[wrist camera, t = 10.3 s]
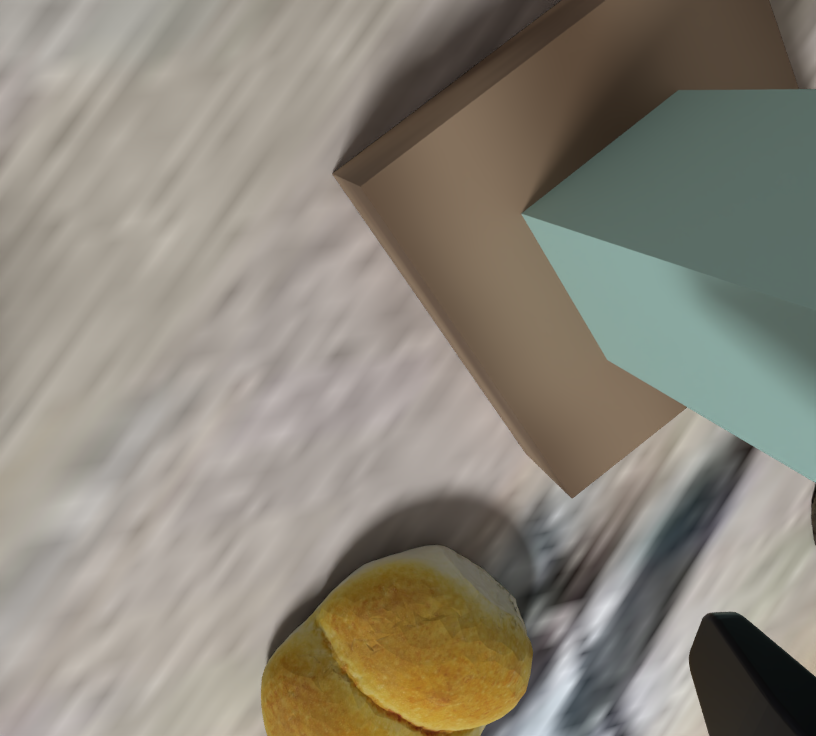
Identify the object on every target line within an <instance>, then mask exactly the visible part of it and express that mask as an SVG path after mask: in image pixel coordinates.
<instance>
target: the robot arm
mask: <svg viewBox="0 0 816 736" xmlns="http://www.w3.org/2000/svg"><path fill="white" fill-rule="evenodd" d="M689 666H690V671H691V675H692V678H693V682H694V685H695V688H696V692H697V695H698V699H699V702H700V706H701V709H702V712H703V716H704V719H705V723H706V726H707V729H708V733H709V736H816V677H815V676H814V675H813V674H812V673H810V672H809V671H808V670H807V669H806V668H804V667H803V666H802V665H801V664H800V663H798V662H797V661H796V660H795V659H794V658H793V657H791V656H790V655H789V654H788V653H787V652H785V651H784V650H783V649H782V648H781V647H779V646H778V645H777V644H776V643H775V642H773V641H772V640H771V639H770V638H769V637H767V636H766V635H765V634H764V633H763V632H762V631H760V630H759V629H758V628H757V627H756V626H754V625H753V624H752V623H751V622H750V621H748V620H747V619H746V618H745V617H743V616H742V615H740V614H738V613H736V612H716V613H708V614H706V615H705V616H704V617H703V619H702V621H701V624H700V626H699V629H698V631H697V634H696V637H695V639H694V642H693V645H692V647H691V650H690V654H689Z"/></svg>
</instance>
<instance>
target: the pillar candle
mask: <svg viewBox="0 0 816 736" xmlns="http://www.w3.org/2000/svg"><path fill="white" fill-rule="evenodd" d="M811 516H812V526H813V534H814V541H815V545H816V494H815V497H814V499H813V504H812V515H811Z"/></svg>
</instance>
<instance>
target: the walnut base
mask: <svg viewBox="0 0 816 736" xmlns="http://www.w3.org/2000/svg"><path fill="white" fill-rule="evenodd" d="M767 89H799V87H798V85H797V82H796V79H795V76H794V73H793V70H792V67H791V64H790V61H789V58H788V55H787V52H786V49H785V46H784V43H783V40H782V37H781V34H780V31H779V28H778V25H777V22H776V19H775V16H774V14H773V11H772V8H771V5H770V2H769V0H561V1H560V2H559V3H557V4H556V5H555V6H553V7H552V8H551V9H549V10H548V11H547V12H545V13H544V14H543V15H541V16H540V17H539V18H538V19H536V20H535V21H534V22H532V23H531V24H530V25H528V26H527V27H526V28H524V29H523V30H522V31H520V32H519V33H518V34H516V35H515V36H514V37H512V38H511V39H510V40H508V41H507V42H506V43H504V44H503V45H502V46H501V47H499V48H498V49H497V50H495V51H494V52H493V53H491V54H490V55H489V56H487V57H486V58H485V59H483V60H482V61H481V62H479V63H478V64H477V65H475V66H474V67H473V68H471V69H470V70H469V71H467V72H466V73H465V74H463V75H462V76H461V77H460V78H458V79H457V80H456V81H454V82H453V83H452V84H450V85H449V86H448V87H446V88H445V89H444V90H442V91H441V92H440V93H438V94H437V95H436V96H434V97H433V98H432V99H430V100H429V101H428V102H426V103H425V104H424V105H423V106H421V107H420V108H419V109H417V110H416V111H415V112H413V113H412V114H411V115H409V116H408V117H407V118H405V119H404V120H403V121H401V122H400V123H399V124H397V125H396V126H395V127H393V128H392V129H391V130H389V131H388V132H387V133H385V134H384V135H383V136H382V137H380V138H379V139H378V140H376V141H375V142H374V143H372V144H371V145H370V146H368V147H367V148H366V149H364V150H363V151H362V152H360V153H359V154H358V155H356V156H355V157H354V158H352V159H351V160H350V161H348V162H347V163H346V164H344V165H343V166H342V167H341V168H339V169H338V170H337V171H335V172H334V173H333V176H334V177H335V179H336V180H337V182H338V183H339V184H340V186H341V187H342V189H343V190H344V192H345V193H346V195H347V196H348V197H349V199H350V200H351V202H352V203H353V205H354V206H355V208H356V209H357V210H358V212H359V213H360V215H361V216H362V218H363V219H364V221H365V222H366V223H367V225H368V226H369V228H370V229H371V231H372V232H373V234H374V235H375V236H376V238H377V239H378V241H379V242H380V244H381V245H382V247H383V248H384V249H385V251H386V252H387V254H388V255H389V257H390V258H391V260H392V261H393V262H394V264H395V265H396V267H397V268H398V270H399V271H400V272H401V274H402V275H403V277H404V278H405V280H406V281H407V283H408V284H409V285H410V287H411V288H412V290H413V291H414V293H415V294H416V296H417V297H418V298H419V300H420V301H421V303H422V304H423V306H424V307H425V309H426V310H427V311H428V313H429V314H430V316H431V317H432V319H433V320H434V322H435V323H436V324H437V326H438V327H439V329H440V330H441V332H442V333H443V335H444V336H445V337H446V339H447V340H448V342H449V343H450V345H451V346H452V348H453V349H454V350H455V352H456V353H457V355H458V356H459V358H460V359H461V361H462V362H463V363H464V365H465V366H466V368H467V369H468V371H469V372H470V374H471V375H472V376H473V378H474V379H475V381H476V382H477V384H478V385H479V387H480V388H481V389H482V391H483V392H484V394H485V395H486V397H487V398H488V400H489V401H490V402H491V404H492V405H493V407H494V408H495V410H496V411H497V413H498V414H499V415H500V417H501V418H502V420H503V421H504V423H505V424H506V426H507V427H508V428H509V430H510V431H511V433H512V434H513V436H514V437H515V439H516V440H517V441H518V443H519V444H520V446H521V447H522V449H523V450H524V452H525V453H526V454H527V455H528V456H529V457H530V458H531V459H532V460H533V461H534V462H535V463H536V464H537V465H538V466H539V467H540V468H541V469H542V470H543V471H544V472H545V473H546V474H547V475H548V476H549V477H550V478H551V479H552V480H553V481H554V482H555V483H556V484H557V485H559V486H560V487H561V488H562V489H563V490H564V491H565V492H566V493H567V494H568V495H569V496H570V497H571V498H574V497H575V496H576V495H577V494H579V493H580V492H581V491H582V490H584V489H585V488H586V487H587V486H589V485H590V484H591V483H592V482H594V481H595V480H596V479H598V478H599V477H600V476H601V475H603V474H604V473H605V472H606V471H608V470H609V469H610V468H611V467H613V466H614V465H615V464H616V463H618V462H619V461H620V460H621V459H623V458H624V457H625V456H627V455H628V454H629V453H630V452H632V451H633V450H634V449H635V448H637V447H638V446H639V445H640V444H642V443H643V442H644V441H645V440H647V439H648V438H649V437H650V436H652V435H653V434H654V433H656V432H657V431H658V430H659V429H661V428H662V427H663V426H664V425H666V424H667V423H668V422H669V421H671V420H672V419H673V418H674V417H676V416H677V415H678V414H679V413H681V412H682V411H683V410H685V409H686V408H687V407H686V406H684V405H683V404H681V403H679V402H678V401H676V400H674V399H673V398H671V397H669V396H667V395H666V394H664V393H662V392H661V391H659V390H657V389H656V388H654V387H652V386H651V385H649V384H647V383H645V382H644V381H642V380H640V379H639V378H637V377H635V376H634V375H632V374H630V373H628V372H627V371H625V370H623V369H622V368H620V367H618V366H617V365H615V364H613V363H612V362H610V361H608V360H607V359H606V357H605V355H604V353H603V352H602V350H601V348H600V347H599V345H598V343H597V342H596V340H595V338H594V337H593V335H592V333H591V331H590V330H589V328H588V326H587V325H586V323H585V321H584V320H583V318H582V316H581V314H580V313H579V311H578V309H577V308H576V306H575V304H574V303H573V301H572V299H571V297H570V296H569V294H568V292H567V291H566V289H565V287H564V286H563V284H562V282H561V281H560V279H559V277H558V275H557V274H556V272H555V270H554V269H553V267H552V265H551V264H550V262H549V260H548V258H547V257H546V255H545V253H544V252H543V250H542V248H541V247H540V245H539V243H538V242H537V240H536V238H535V236H534V235H533V233H532V231H531V230H530V228H529V226H528V225H527V223H526V221H525V219H524V218H523V216H522V214H521V213H523V212H524V211H525V210H526V209H528V208H529V207H530V206H532V205H533V204H534V203H535V202H537V201H538V200H539V199H540V198H542V197H543V196H544V195H546V194H547V193H548V192H549V191H551V190H552V189H553V188H554V187H556V186H557V185H558V184H560V183H561V182H562V181H563V180H565V179H566V178H567V177H568V176H570V175H571V174H572V173H574V172H575V171H576V170H577V169H579V168H580V167H581V166H582V165H584V164H585V163H586V162H588V161H589V160H590V159H591V158H593V157H594V156H595V155H596V154H598V153H599V152H600V151H602V150H603V149H604V148H605V147H607V146H608V145H609V144H610V143H612V142H613V141H614V140H615V139H617V138H618V137H619V136H621V135H622V134H623V133H624V132H626V131H627V130H628V129H629V128H631V127H632V126H633V125H635V124H636V123H637V122H638V121H640V120H641V119H642V118H643V117H645V116H646V115H647V114H649V113H650V112H651V111H652V110H654V109H655V108H656V107H657V106H659V105H660V104H661V103H663V102H664V101H665V100H666V99H668V98H669V97H670V96H671V95H673V94H674V93H675V92H677V91H678V90H767Z"/></svg>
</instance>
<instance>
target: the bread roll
mask: <svg viewBox="0 0 816 736" xmlns="http://www.w3.org/2000/svg"><path fill="white" fill-rule="evenodd" d="M532 656H533V650H532V646H531V642H530V640H529V638H528V637H527V631H526V627H525V624H524V621H523V620H522V618H521V615H520V612H519V609H518V607H517V604H516V599H515V598H514V597H513V596H512V595H511V594H509V592H508V591H507V590H506V589H505V588H503V586H502V585H500V584H499V583H498V582H497V581H496V580H495V579H494V578H493V577H492V576H490V575H489V574H488V573H487V572H486V571H485V570H484V569H482V568H481V567H479V566H478V565H476V564H474V563H472V562H471V561H470V560H469V559H467V558H465V557H463V556H461V555H459V554H457V553H456V552H455V551H454V550H451V549H450V548H447V547H445V546H441V545H428V546H422V547H418V548H413V549H410V550H407V551H404V552H401V553H397V554H393V555H390V556H387V557H384V558H381V559H378V560H375V561H371V562H369V563H366V564H364V565H363V566H361V567H360V568H358V569H357V570H355V571H354V572H353V573H351V574H350V575H349V576H348V577H347V578H346V579H345V580H343V581H342V582H341V583H340V584H339V585H338V586H337V587H336V588H335V589H334V590H333V591H331V592H330V594H329V595H328V596H327V597H326V598H325V600H324V601H323V602H322V603H321V604H320V605H319V606H318V607H317V608H316V610H315V611H314V612H313V614H312V615H311V616H310V617H309V618H308V619H307V620H306V621H305V622H303V623H302V624H301V625H300V626H298V627H297V628H296V629H295V630H294V631H293V632H292V633H291V634H290V635H289V636H288V638H287V639H286V640H285V641H284V642H283V643H282V644H281V645H280V646H279V647H278V648H277V650H276V651H275V653H274V654H273V655H272V657H271V658H270V659H269V661H268V663H267V665H266V667H265V669H264V673H263V676H262V683H261V706H262V714H263V720H264V725H265V729H266V732H267V736H480V735H481V733H482V731H483V729H484V727H485V726H486V724H489V723H491V722H493V721H495V720H497V719H499V718H501V717H503V716H504V715H505V714H507V713H508V712H509V711H510V710H512V709H513V708H514V707H515V706H516V705H517V703H518V701H519V700H520V699H521V697H522V696H523V695H524V693H525V692H526V689H527V685H528V681H529V677H530V672H531V665H532Z"/></svg>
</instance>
